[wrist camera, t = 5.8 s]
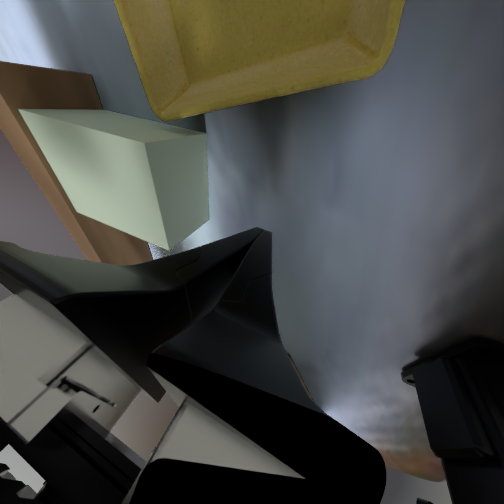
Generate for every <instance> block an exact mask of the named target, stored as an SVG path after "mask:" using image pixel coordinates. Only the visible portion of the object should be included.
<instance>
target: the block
mask: <svg viewBox="0 0 504 504" xmlns="http://www.w3.org/2000/svg"><path fill="white" fill-rule="evenodd" d="M18 110H19V112H20V114H21V115H22V117H23V119H24V121H25V122H26V124H27V126H28V128H29V129H30V131H31V133H32V135H33V136H34V138H35V140H36V141H37V143H38V145H39V147H40V148H41V150H42V152H43V154H44V155H45V157H46V159H47V161H48V162H49V164H50V166H51V168H52V169H53V171H54V173H55V175H56V176H57V178H58V180H59V182H60V183H61V185H62V187H63V189H64V190H65V192H66V194H67V196H68V197H69V199H70V201H71V203H72V204H73V206H74V208H75V210H76V211H77V212H78V213H80V214H83V215H85V216H88V217H90V218H92V219H95V220H97V221H99V222H102V223H104V224H107V225H109V226H111V227H114V228H116V229H118V230H121V231H123V232H126V233H128V234H130V235H133V236H135V237H137V238H140V239H142V240H145V241H147V242H149V243H152V244H154V245H157V246H159V247H161V248H164V249H166V250H168V251H170V250H171V249H172V248H174V247H175V246H176V245H178V244H179V243H180V242H181V241H183V240H184V239H185V238H186V237H188V236H189V235H190V234H192V233H193V232H194V231H195V230H197V229H198V228H199V227H201V226H202V225H203V224H204V223H206V222H207V221H208V220H209V190H208V160H207V133H203V132H199V131H194V130H190V129H186V128H181V127H177V126H173V125H168V124H164V123H160V122H155V121H151V120H147V119H143V118H138V117H134V116H130V115H125V114H121V113H117V112H112V111H108V110H89V109H18Z"/></svg>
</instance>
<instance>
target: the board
mask: <svg viewBox="0 0 504 504" xmlns="http://www.w3.org/2000/svg"><path fill="white" fill-rule="evenodd" d="M18 109H89V110H103V109H102V106H101V103H100V100H99V97H98V94H97V91H96V88H95V85H94V82H93V79H92V76H91V75H90V74H84V73H78V72H72V71H66V70H59V69H52V68H45V67H38V66H31V65H24V64H17V63H10V62H3V61H0V129H1V130H2V132H3V133H4V135H5V137H6V138H7V140H8V141H9V143H10V144H11V146H12V147H13V149H14V150H15V152H16V153H17V154H18V156H19V158H20V159H21V161H22V162H23V164H24V165H25V166H26V168H27V170H28V171H29V173H30V174H31V176H32V177H33V179H34V180H35V182H36V183H37V185H38V186H39V188H40V189H41V191H42V192H43V194H44V195H45V197H46V198H47V200H48V201H49V203H50V204H51V206H52V207H53V209H54V210H55V212H56V213H57V215H58V216H59V218H60V219H61V221H62V222H63V224H64V225H65V227H66V228H67V230H68V231H69V233H70V234H71V236H72V237H73V239H74V240H75V242H76V243H77V245H78V246H79V248H80V250H81V251H82V252H83V254H84V255H85V257H86V258H87V260H88V261H93V262H100V263H106V264H113V265H135V264H139V263H143V262H147V261H151V260H153V258H152V255H151V252H150V249H149V246H148V243H147V241H145V240H142V239H140V238H137V237H135V236H133V235H130V234H128V233H126V232H123V231H121V230H118V229H116V228H114V227H111V226H109V225H107V224H104V223H102V222H99V221H97V220H95V219H92V218H90V217H88V216H85V215H83V214H80V213H78V212H77V211H76V210H75V208H74V206H73V204H72V203H71V201H70V199H69V197H68V196H67V194H66V192H65V190H64V189H63V187H62V185H61V183H60V182H59V180H58V178H57V176H56V175H55V173H54V171H53V169H52V168H51V166H50V164H49V162H48V161H47V159H46V157H45V155H44V154H43V152H42V150H41V148H40V147H39V145H38V143H37V141H36V140H35V138H34V136H33V135H32V133H31V131H30V129H29V128H28V126H27V124H26V122H25V121H24V119H23V117H22V115H21V114H20V112H19V110H18Z"/></svg>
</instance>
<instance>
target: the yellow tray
mask: <svg viewBox="0 0 504 504" xmlns="http://www.w3.org/2000/svg"><path fill="white" fill-rule="evenodd" d="M114 3H115V6H116V8H117V12H118V15H119V18H120V21H121V23H122V25H123V29H124V32H125V34H126V37H127V40H128V43H129V46H130V49H131V52H132V56H133V58H134V61H135V63H136V66H137V69H138V72H139V75H140V79H141V82H142V84H143V87H144V90H145V93H146V96H147V99H148V101H149V103H150V106H151V109H152V110H153V112H154V113H155V114H156V115H157V116H158V117H159V118H160V119H161V120H163V121H173V120H178V119H182V118H186V117H190V116H195V115H199V114H203V113H207V112H211V111H216V110H221V109H226V108H230V107H234V106H239V105H243V104H247V103H252V102H256V101H261V100H265V99H269V98H274V97H279V96H286V95H289V94H294V93H298V92H304V91H308V90H312V89H316V88H323V87H327V86H331V85H336V84H341V83H347V82H351V81H356V80H362V79H367V78H369V77H371V76H373V75H375V74H376V73H377V72H379V71H380V70H381V69H382V68H383V67H384V65H385V64H386V62H387V60H388V59H389V56H390V54H391V52H392V50H393V47H394V45H395V41H396V37H397V34H398V30H399V25H400V20H401V15H402V12H403V8H404V4H405V0H114Z"/></svg>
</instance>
